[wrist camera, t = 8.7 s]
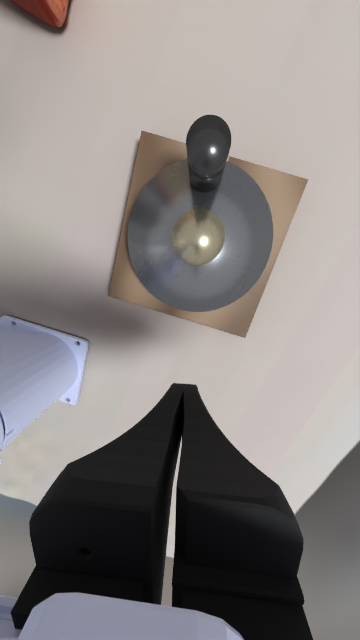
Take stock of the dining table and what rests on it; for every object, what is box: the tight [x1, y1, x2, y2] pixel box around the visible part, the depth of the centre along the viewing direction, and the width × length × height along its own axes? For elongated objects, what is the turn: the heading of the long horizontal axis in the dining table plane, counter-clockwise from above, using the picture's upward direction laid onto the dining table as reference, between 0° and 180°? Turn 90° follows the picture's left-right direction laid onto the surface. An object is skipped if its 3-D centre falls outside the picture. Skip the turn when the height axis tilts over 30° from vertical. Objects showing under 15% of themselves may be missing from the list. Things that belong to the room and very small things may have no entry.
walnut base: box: [108, 131, 308, 338], centre depth 17 cm, size 13×13×2 cm
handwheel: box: [128, 115, 273, 312], centre depth 14 cm, size 11×11×5 cm
